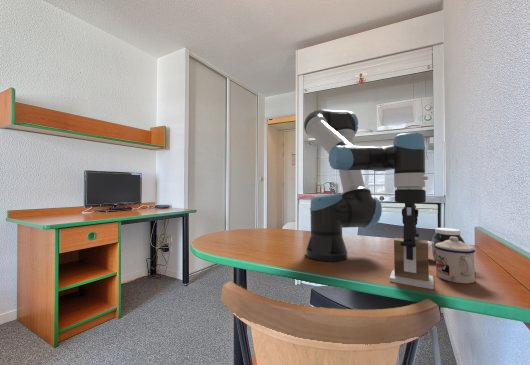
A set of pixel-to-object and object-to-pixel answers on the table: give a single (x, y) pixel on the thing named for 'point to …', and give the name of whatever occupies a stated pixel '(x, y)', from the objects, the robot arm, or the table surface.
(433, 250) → the spread jar
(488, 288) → the table surface
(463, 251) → the teacup with lid
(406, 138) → the robot arm
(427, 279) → the walnut slab
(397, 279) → the grey board
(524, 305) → the table surface
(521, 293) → the table surface
